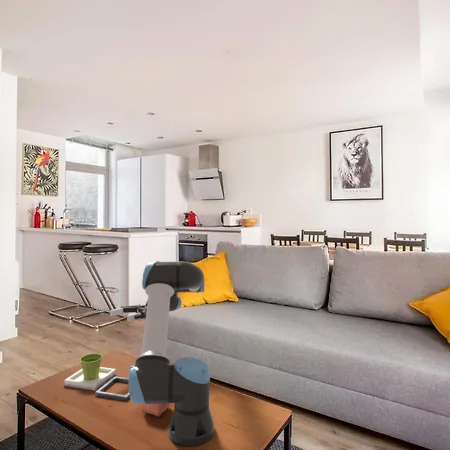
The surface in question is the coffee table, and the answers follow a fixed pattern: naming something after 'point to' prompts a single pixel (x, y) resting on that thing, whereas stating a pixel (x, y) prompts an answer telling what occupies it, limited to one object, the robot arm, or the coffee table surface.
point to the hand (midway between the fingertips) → (118, 315)
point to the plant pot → (91, 365)
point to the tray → (93, 384)
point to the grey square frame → (112, 395)
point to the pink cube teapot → (155, 408)
